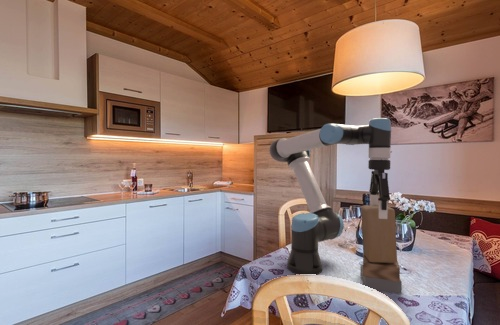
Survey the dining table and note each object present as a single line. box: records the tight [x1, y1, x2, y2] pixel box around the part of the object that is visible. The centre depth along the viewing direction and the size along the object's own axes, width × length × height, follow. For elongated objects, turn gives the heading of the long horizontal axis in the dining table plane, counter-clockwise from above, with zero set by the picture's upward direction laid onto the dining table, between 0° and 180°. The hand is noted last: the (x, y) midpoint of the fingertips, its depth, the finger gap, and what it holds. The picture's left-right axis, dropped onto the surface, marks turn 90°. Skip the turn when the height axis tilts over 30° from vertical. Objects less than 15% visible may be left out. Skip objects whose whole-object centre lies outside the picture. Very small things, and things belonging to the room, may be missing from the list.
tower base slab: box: [359, 263, 403, 294], centre depth 102 cm, size 12×12×5 cm
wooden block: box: [360, 204, 398, 263], centre depth 102 cm, size 10×10×20 cm
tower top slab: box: [362, 252, 401, 282], centre depth 102 cm, size 12×12×5 cm
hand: (378, 214), depth 101 cm, fingers open, 13 cm apart
